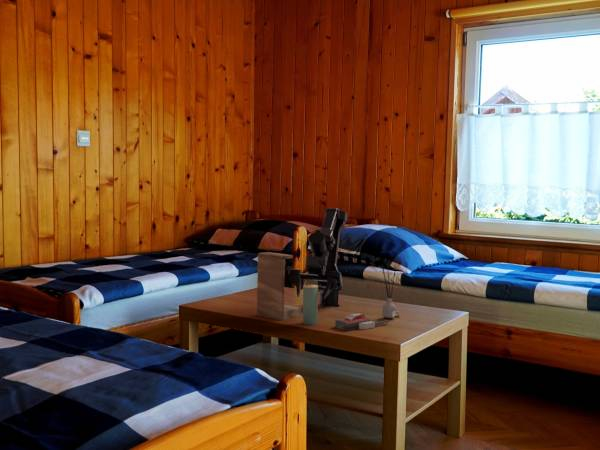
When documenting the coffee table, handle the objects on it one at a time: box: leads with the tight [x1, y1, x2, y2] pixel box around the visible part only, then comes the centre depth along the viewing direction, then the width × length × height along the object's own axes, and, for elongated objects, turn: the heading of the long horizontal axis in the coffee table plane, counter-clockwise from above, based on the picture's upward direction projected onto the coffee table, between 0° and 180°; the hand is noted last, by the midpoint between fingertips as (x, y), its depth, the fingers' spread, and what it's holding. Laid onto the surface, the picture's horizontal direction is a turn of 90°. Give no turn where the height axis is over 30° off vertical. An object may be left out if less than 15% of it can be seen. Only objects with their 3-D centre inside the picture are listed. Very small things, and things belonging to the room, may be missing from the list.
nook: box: [256, 251, 303, 321], centre depth 233 cm, size 11×12×22 cm
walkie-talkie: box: [334, 312, 390, 331], centre depth 220 cm, size 9×4×20 cm
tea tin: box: [302, 284, 319, 326], centre depth 222 cm, size 5×5×13 cm
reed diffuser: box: [381, 263, 401, 319], centre depth 233 cm, size 10×7×20 cm
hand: (310, 297), depth 222 cm, fingers open, 9 cm apart
